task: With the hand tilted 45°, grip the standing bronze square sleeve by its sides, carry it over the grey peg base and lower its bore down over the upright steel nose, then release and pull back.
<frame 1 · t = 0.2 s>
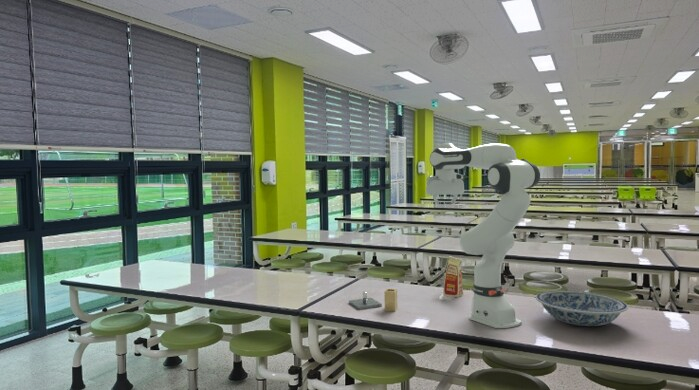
hand: (445, 203, 228), 48 cm above the table, tool pointing down, fingers open, 8 cm apart
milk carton: (454, 294, 239), on the table
ceramic bowl: (579, 323, 193), on the table
sleeve: (391, 309, 216), on the table
grey peg base: (365, 304, 224), on the table
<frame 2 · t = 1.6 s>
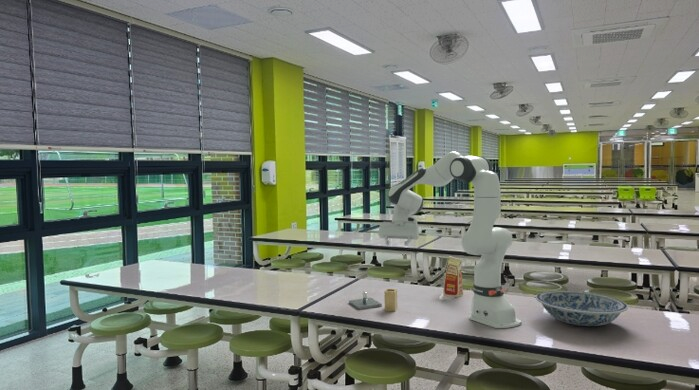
hand: (396, 244, 226), 28 cm above the table, tool tilted 45°, fingers open, 8 cm apart
nothing on the table moved.
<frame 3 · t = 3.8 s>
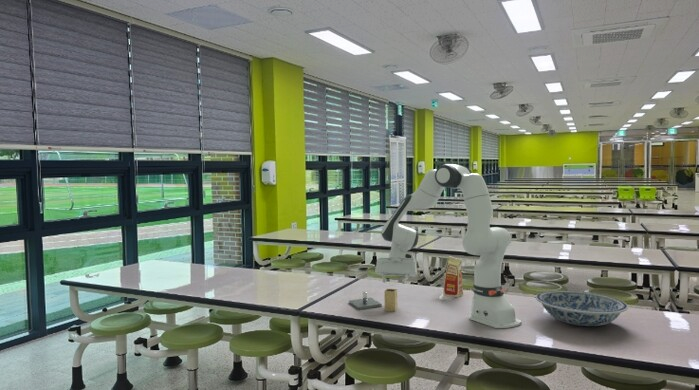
hand: (393, 282, 222), 11 cm above the table, tool tilted 45°, fingers open, 8 cm apart
nothing on the table moved.
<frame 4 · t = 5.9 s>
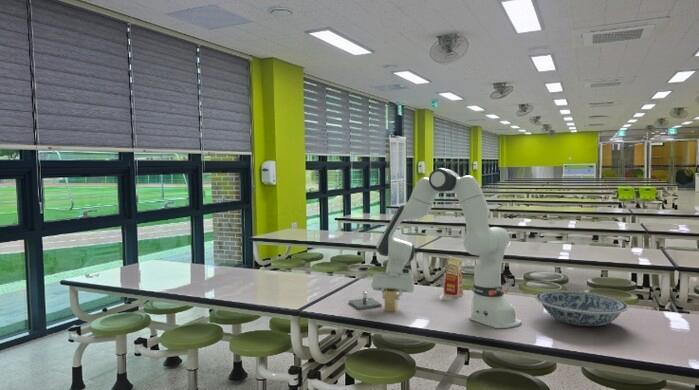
hand: (390, 298, 215), 5 cm above the table, tool tilted 45°, fingers closed on sleeve, 5 cm apart
sleeve: (391, 309, 216), on the table, touching gripper
everything else where it was.
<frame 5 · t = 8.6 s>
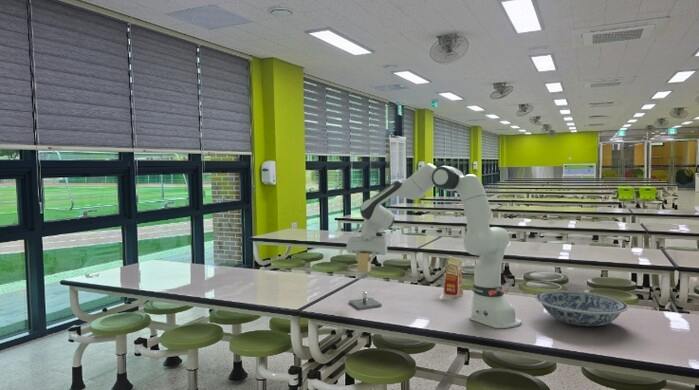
hand: (363, 260, 222), 22 cm above the table, tool tilted 45°, fingers closed on sleeve, 5 cm apart
sleeve: (364, 270, 223), point 17 cm above the table, touching gripper
everything else where it was.
when the fingers open (8 cm above the table, at t = 11.6 s): sleeve drops 2 cm, resting on grey peg base.
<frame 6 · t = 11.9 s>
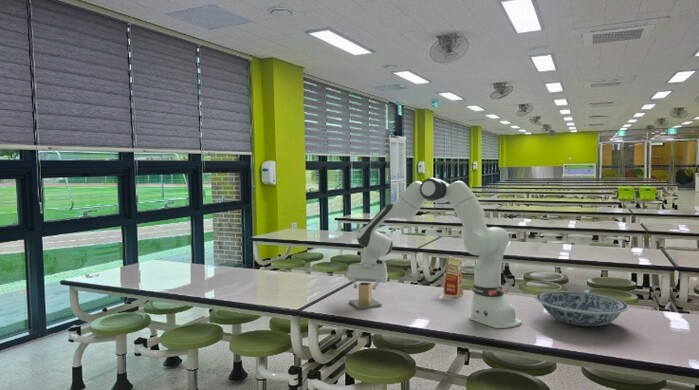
hand: (364, 288, 223), 8 cm above the table, tool tilted 45°, fingers open, 8 cm apart
sleeve: (365, 302, 224), point 1 cm above the table, touching grey peg base
everything else where it was.
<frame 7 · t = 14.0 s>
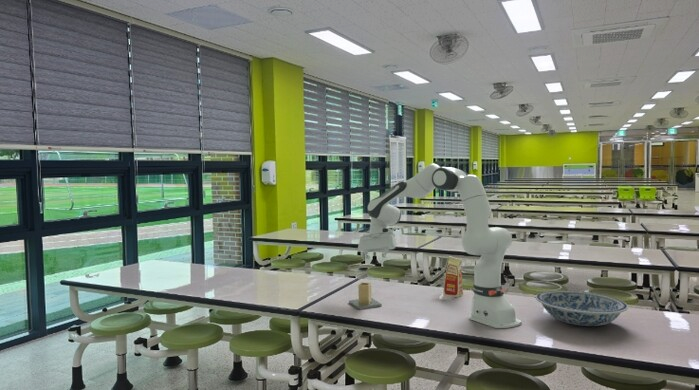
hand: (375, 258, 232), 21 cm above the table, tool tilted 35°, fingers open, 8 cm apart
nothing on the table moved.
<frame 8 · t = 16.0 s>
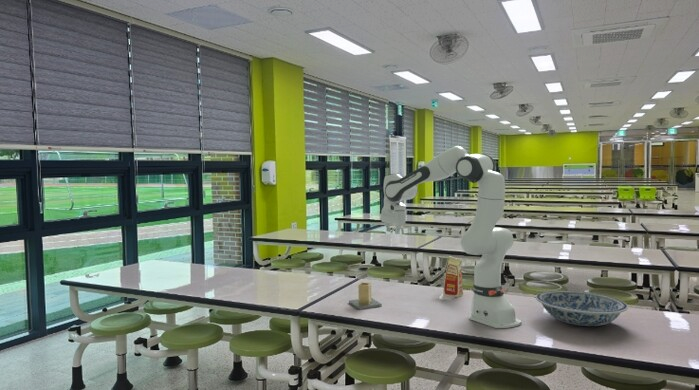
hand: (392, 232, 235), 33 cm above the table, tool pointing down, fingers open, 8 cm apart
nothing on the table moved.
at the end: sleeve 0.1 cm off-centre on the grey peg base, point 1.2 cm above the grey peg base's base; sleeve tilted 0°; the gripper is holding nothing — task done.
